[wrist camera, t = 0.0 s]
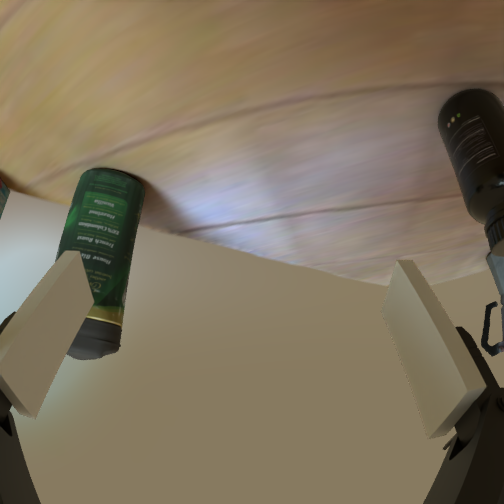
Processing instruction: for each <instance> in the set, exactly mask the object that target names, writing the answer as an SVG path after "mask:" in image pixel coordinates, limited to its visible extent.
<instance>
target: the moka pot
mask: <svg viewBox="0 0 504 504" xmlns="http://www.w3.org/2000/svg"><path fill="white" fill-rule="evenodd" d="M486 260H487V262H488V265H489V267H490V270H491V272H492V275H493V277H494V280H495V283H496V286H497V288H498V291H499V294H500V295H501V304H502V305H503V307H502V308H501V314H502V331H503V341H502V342H499V343H497V344H495V345H494V346H490V345H488V343H487V341H488V335H489V334H488V333H489V327H490V319H489V318H490V314H491V309H492V308H493V307H497V305H498V304H497V302H496V301H495V302H492V303H490V304H488V305H487V306H486V311H485V320H484V328H483V335H482V339H481V346H482V347H483V348H484V349H485V351H486V352H488V353H489V354H490V355H491V356H495V355H497V354H498V353H499V352H503V351H504V257H501V256H500V257H498V256H495V255H493V254H492V252H491V253H490V254H489V256H488V257H487V259H486Z"/></svg>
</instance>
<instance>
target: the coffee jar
mask: <svg viewBox="0 0 504 504" xmlns="http://www.w3.org/2000/svg"><path fill="white" fill-rule="evenodd" d="M144 196H145V191H144V188H143V185H142V184H141V183H139V182H138V181H137V180H135V179H133V178H131V177H130V176H128V175H126V174H124V173H122V172H119V171H116V170H110V169H91V170H87V171H86V172H84V173H83V174H82V176H81V178H80V180H79V183H78V185H77V188H76V191H75V194H74V197H73V200H72V203H71V206H70V210H69V213H68V216H67V220H66V224H65V227H64V231H63V234H62V237H61V241H60V244H59V248H58V252H57V256H56V260H55V262H56V261H57V260H58V259H59V257H60V256H61V255H62V254H63V253H64V252H65V251H80V255H81V258H82V262H83V266H84V269H85V273H86V276H87V280H88V283H89V286H90V290H91V293H92V296H93V299H94V304H93V305H92V307H91V309H90V311H89V312H88V314H87V316H86V318H85V320H84V321H83V323H82V325H81V327H80V329H79V331H78V332H77V334H76V336H75V338H74V340H73V342H72V344H71V346H70V348H69V349H68V351H67V353H66V354H67V355H69V356H71V357H73V358H75V359H79V360H88V359H89V360H90V359H97V358H101V357H103V356H105V355H108V354H112V353H116V352H117V351H118V350H119V347H120V346H121V345H120V339H121V332H122V323H123V315H124V307H125V299H126V292H127V285H128V279H129V273H130V266H131V260H132V254H133V249H134V243H135V238H136V232H137V228H138V224H139V219H140V215H141V210H142V205H143V201H144Z"/></svg>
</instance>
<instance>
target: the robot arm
mask: <svg viewBox="0 0 504 504" xmlns="http://www.w3.org/2000/svg"><path fill="white" fill-rule="evenodd" d="M93 304H94V299H93V296H92V293H91V290H90V286H89V283H88V280H87V276H86V273H85V269H84V266H83V262H82V258H81V255H80V251H65V252H64V253H63V254H62V255H61V256H60V257H59V259H58V260H57V261H56V262H55V263H54V265H53V266H52V267H51V268H50V269H49V271H48V272H47V273H46V275H45V276H44V277H43V278H42V279H41V281H40V282H39V283H38V284H37V286H36V287H35V288H34V289H33V291H32V292H31V293H30V295H29V296H28V297H27V299H26V300H25V301H24V302H23V304H22V305H21V307H20V308H19V309H18V311H17V312H13V313H12V314H11V315H9V316H8V317H7V318H6V319H5V320H4V321H3V322H2V324H1V325H0V504H41V503H40V500H39V498H38V496H37V493H36V490H35V488H34V485H33V482H32V479H31V477H30V474H29V471H28V468H27V465H26V462H25V459H24V455H23V452H22V449H21V446H20V442H19V438H18V435H17V431H16V427H15V423H14V418H13V416H12V414H11V412H10V411H9V410H10V408H11V406H12V405H13V406H14V408H15V409H16V410H17V411H18V412H19V414H21V415H24V416H27V417H29V418H32V419H36V417H37V414H38V412H39V410H40V407H41V405H42V403H43V401H44V399H45V397H46V394H47V392H48V390H49V388H50V386H51V384H52V382H53V379H54V377H55V375H56V373H57V371H58V369H59V367H60V365H61V363H62V361H63V359H64V357H65V355H66V353H67V351H68V349H69V348H70V346H71V344H72V342H73V340H74V338H75V336H76V334H77V332H78V331H79V329H80V327H81V325H82V323H83V321H84V320H85V318H86V316H87V314H88V312H89V311H90V309H91V307H92V305H93ZM381 313H382V315H383V318H384V320H385V322H386V325H387V327H388V330H389V332H390V335H391V337H392V340H393V342H394V345H395V347H396V350H397V352H398V355H399V358H400V360H401V363H402V366H403V368H404V371H405V374H406V376H407V379H408V382H409V385H410V387H411V390H412V393H413V396H414V398H415V402H416V405H417V408H418V411H419V414H420V416H421V419H422V423H423V426H424V429H425V432H426V435H427V438H428V439H431V438H435V437H440V436H444V435H446V434H447V433H448V432H449V431H450V430H451V429H452V428H453V427H454V426H455V429H456V432H457V433H456V434H455V436H454V437H453V438H452V439H451V440H450V441H449V442H448V443H447V444H446V445H445V446H444V448H443V449H444V450H446V449H447V448H448V447H449V446H450V447H449V449H448V452H447V454H446V457H445V459H444V461H443V463H442V466H441V468H440V470H439V472H438V475H437V477H436V479H435V481H434V483H433V485H432V487H431V489H430V491H429V493H428V495H427V497H426V499H425V501H424V503H423V504H504V388H500V387H499V385H498V383H497V381H496V380H495V378H494V376H493V374H492V372H491V370H490V368H489V366H488V364H487V363H486V361H485V359H484V357H482V354H481V352H480V350H479V349H478V348H477V345H476V343H475V341H474V340H473V338H472V336H471V335H470V334H469V333H468V332H467V331H465V329H464V328H462V327H455V326H454V325H453V323H452V321H451V320H450V318H449V316H448V314H447V313H446V311H445V310H444V308H443V307H442V305H441V303H440V301H439V300H438V298H437V297H436V295H435V293H434V292H433V290H432V289H431V287H430V286H429V284H428V283H427V281H426V280H425V278H424V276H423V275H422V273H421V272H420V270H419V269H418V267H417V266H416V265H415V263H414V262H413V260H397V261H396V264H395V268H394V271H393V274H392V278H391V281H390V284H389V289H388V291H387V294H386V298H385V301H384V303H383V307H382V310H381Z"/></svg>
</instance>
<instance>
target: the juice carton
mask: <svg viewBox="0 0 504 504" xmlns="http://www.w3.org/2000/svg"><path fill="white" fill-rule="evenodd" d="M9 194H10V190H9V189H8V188H7V186H6V185H5V184H4V182H3V181H2V179H1V178H0V219H1V215H2V213H3V210H4V207H5V204H6V202H7V199H8V196H9Z"/></svg>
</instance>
